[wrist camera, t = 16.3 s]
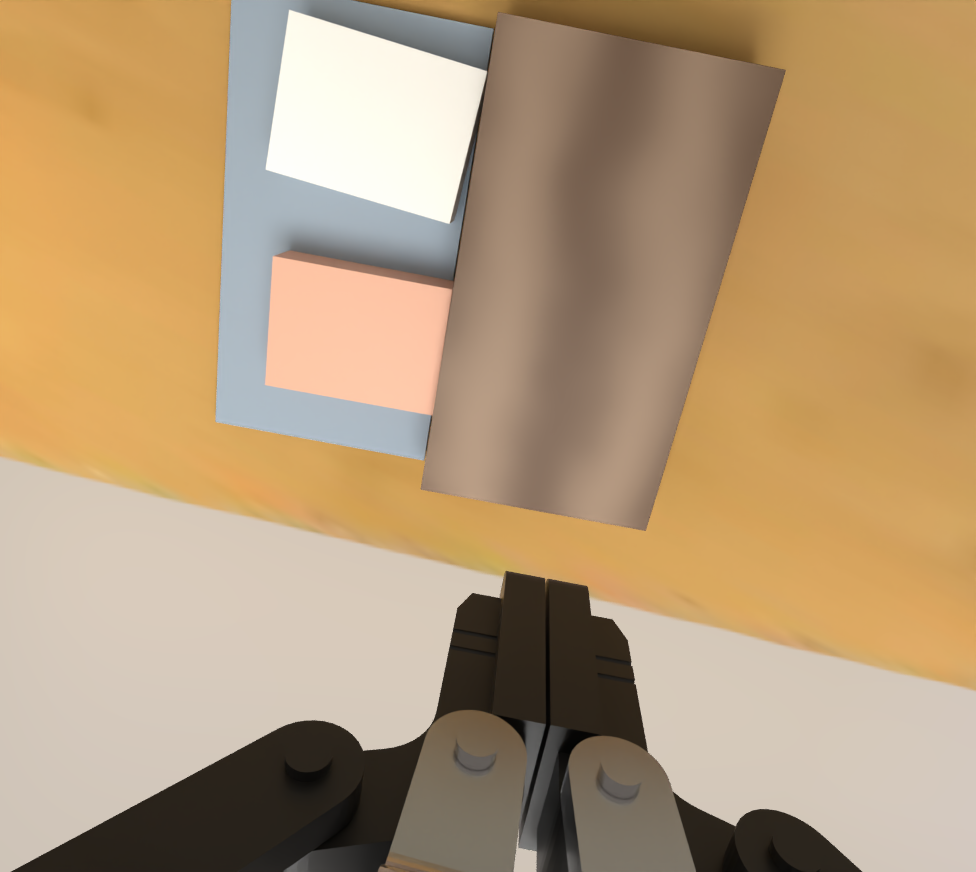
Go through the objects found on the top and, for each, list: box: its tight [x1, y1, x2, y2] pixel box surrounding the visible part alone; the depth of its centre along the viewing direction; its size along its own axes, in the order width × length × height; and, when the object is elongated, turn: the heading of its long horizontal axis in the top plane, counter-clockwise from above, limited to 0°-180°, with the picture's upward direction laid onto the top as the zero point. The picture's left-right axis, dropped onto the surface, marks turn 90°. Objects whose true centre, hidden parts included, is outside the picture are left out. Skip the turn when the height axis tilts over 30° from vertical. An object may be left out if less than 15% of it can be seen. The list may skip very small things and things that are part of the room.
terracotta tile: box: [265, 250, 454, 416], centre depth 32 cm, size 8×6×2 cm
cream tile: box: [266, 10, 488, 224], centre depth 29 cm, size 8×6×2 cm
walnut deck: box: [421, 12, 786, 531], centre depth 31 cm, size 11×20×4 cm, turn 170°
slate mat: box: [216, 0, 494, 460], centre depth 32 cm, size 11×20×1 cm, turn 170°
